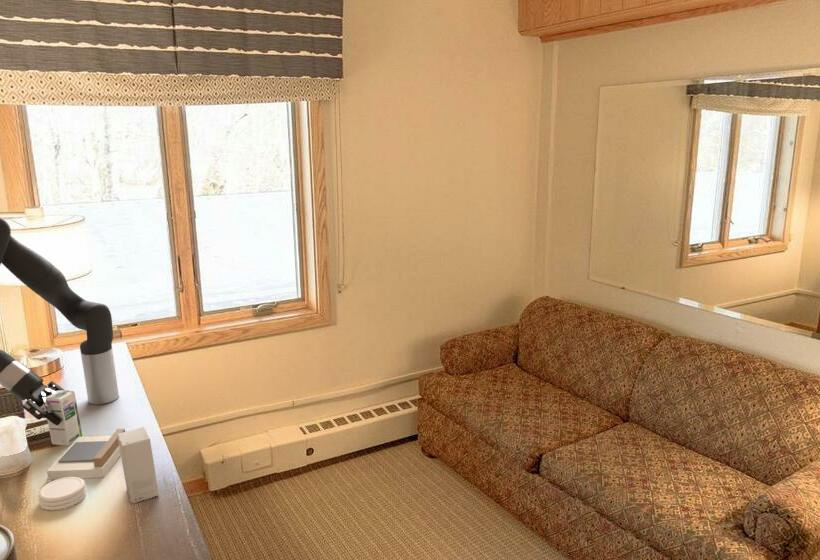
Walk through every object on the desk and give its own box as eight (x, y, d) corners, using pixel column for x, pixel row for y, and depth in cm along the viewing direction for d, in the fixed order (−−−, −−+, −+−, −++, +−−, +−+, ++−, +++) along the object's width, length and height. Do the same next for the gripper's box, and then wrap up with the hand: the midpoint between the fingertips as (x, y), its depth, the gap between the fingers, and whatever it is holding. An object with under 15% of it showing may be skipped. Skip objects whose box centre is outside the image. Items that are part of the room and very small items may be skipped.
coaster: (38, 516, 148) (36, 503, 148) (42, 494, 157) (39, 482, 156) (86, 505, 153) (84, 492, 152) (87, 484, 161) (85, 472, 160)
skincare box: (159, 496, 155) (151, 439, 151) (130, 505, 152) (121, 446, 148) (152, 480, 162) (145, 425, 158) (124, 489, 159) (116, 432, 155)
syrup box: (69, 446, 180) (61, 399, 176) (50, 444, 181) (42, 397, 178) (82, 436, 185) (75, 390, 182) (65, 434, 187) (57, 389, 183)
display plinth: (80, 444, 181) (77, 428, 179) (130, 442, 181) (127, 427, 180) (48, 479, 163) (45, 462, 162) (104, 477, 164) (101, 460, 163)
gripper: (13, 381, 171) (63, 418, 174) (40, 361, 184) (86, 396, 188) (-4, 400, 172) (47, 436, 175) (25, 379, 185) (71, 413, 189)
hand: (67, 415), depth 181 cm, fingers open, 8 cm apart
